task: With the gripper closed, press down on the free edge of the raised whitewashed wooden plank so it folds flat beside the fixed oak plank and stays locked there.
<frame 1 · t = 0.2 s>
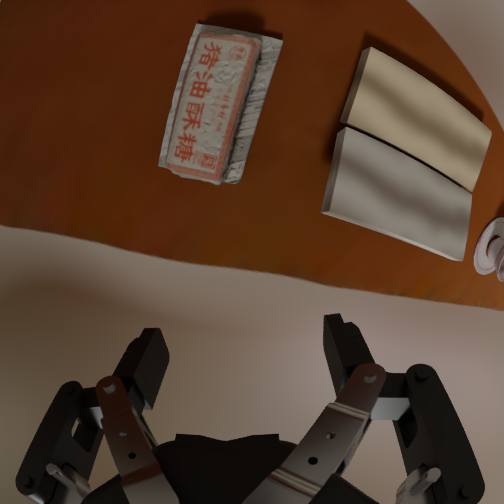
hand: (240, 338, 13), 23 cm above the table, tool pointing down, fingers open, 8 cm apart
whitewashed plank: (411, 201, 29), point 4 cm above the table, hinge at 25.0°
oak plank: (423, 122, 28), on the table
packaged product: (218, 101, 28), on the table
teacup: (492, 245, 37), on the table
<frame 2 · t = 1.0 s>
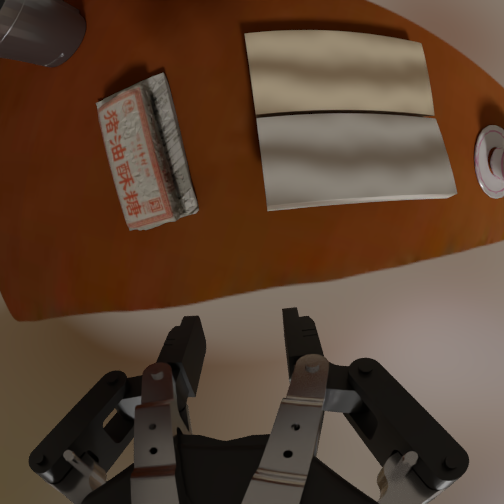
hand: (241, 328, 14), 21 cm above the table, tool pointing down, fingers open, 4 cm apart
whitewashed plank: (364, 156, 27), point 4 cm above the table, hinge at 25.0°
oak plank: (343, 73, 27), on the table
packaged product: (147, 152, 31), on the table
teacup: (494, 161, 29), on the table
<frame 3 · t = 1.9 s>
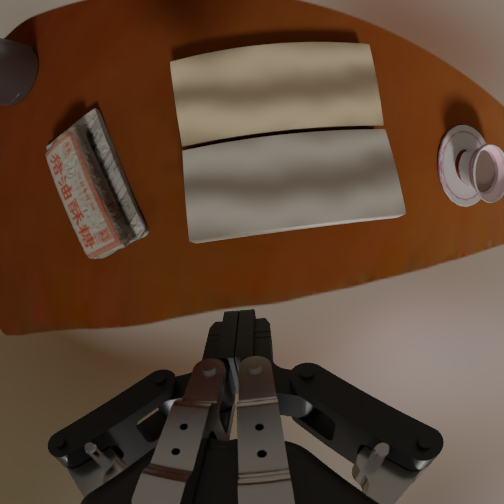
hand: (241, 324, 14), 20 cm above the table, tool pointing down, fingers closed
whitewashed plank: (295, 180, 27), point 4 cm above the table, hinge at 25.0°
oak plank: (277, 89, 27), on the table
packaged product: (96, 184, 32), on the table
teacup: (464, 165, 30), on the table
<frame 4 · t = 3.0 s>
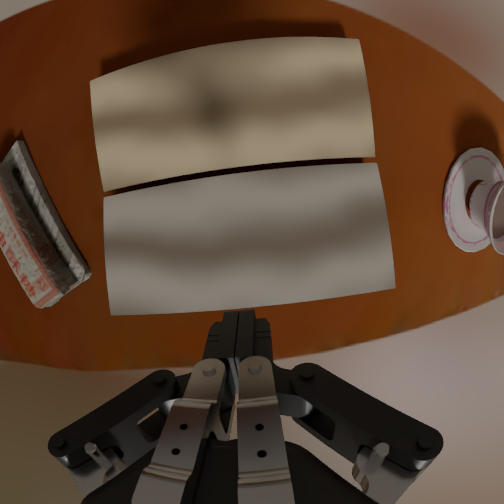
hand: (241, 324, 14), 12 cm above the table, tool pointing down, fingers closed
whitewashed plank: (241, 240, 21), point 4 cm above the table, hinge at 25.0°
oak plank: (228, 107, 20), on the table
packaged product: (34, 224, 25), on the table
teacup: (476, 199, 23), on the table
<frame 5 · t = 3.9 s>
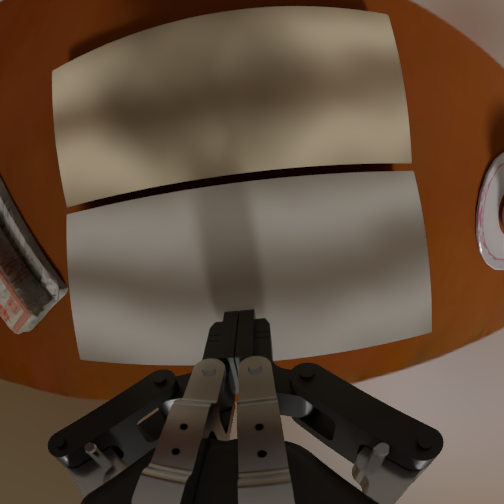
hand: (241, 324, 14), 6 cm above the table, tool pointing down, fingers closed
whitewashed plank: (238, 273, 16), point 4 cm above the table, hinge at 25.0°, touching gripper
oak plank: (220, 95, 15), on the table
packaged product: (5, 238, 20), on the table
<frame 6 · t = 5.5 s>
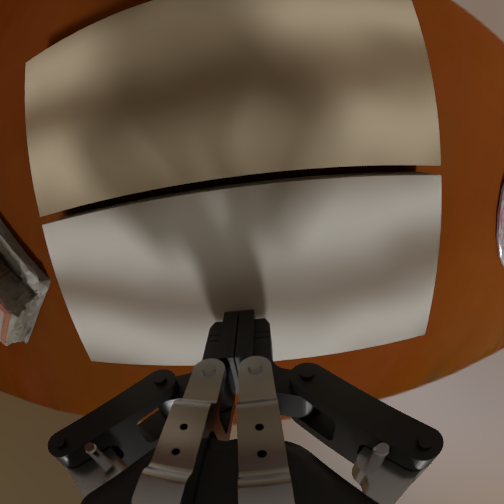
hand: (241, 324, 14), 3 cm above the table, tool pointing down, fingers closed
whitewashed plank: (238, 278, 15), point 2 cm above the table, hinge at 2.8°
oak plank: (215, 83, 12), on the table
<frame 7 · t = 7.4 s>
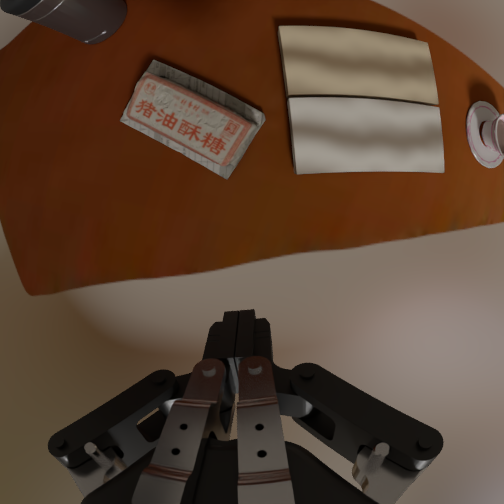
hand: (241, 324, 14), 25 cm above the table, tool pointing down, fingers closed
whitewashed plank: (373, 135, 32), point 2 cm above the table, hinge at 2.8°
oak plank: (360, 65, 29), on the table
packaged product: (190, 116, 34), on the table
teacup: (486, 134, 31), on the table
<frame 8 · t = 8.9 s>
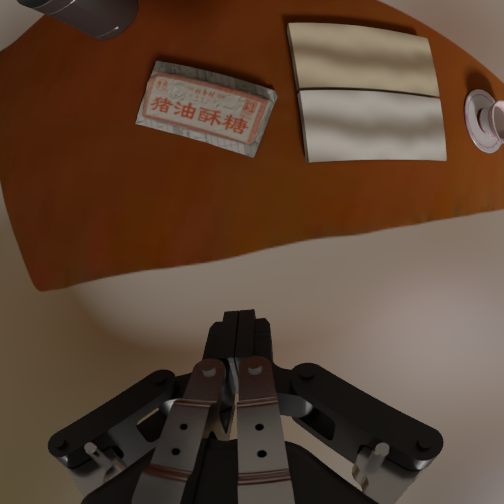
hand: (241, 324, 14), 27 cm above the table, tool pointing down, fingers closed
whitewashed plank: (379, 125, 33), point 2 cm above the table, hinge at 2.8°
oak plank: (365, 60, 30), on the table
packaged product: (204, 106, 34), on the table
teacup: (483, 120, 32), on the table
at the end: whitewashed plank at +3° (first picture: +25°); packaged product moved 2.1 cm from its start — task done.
